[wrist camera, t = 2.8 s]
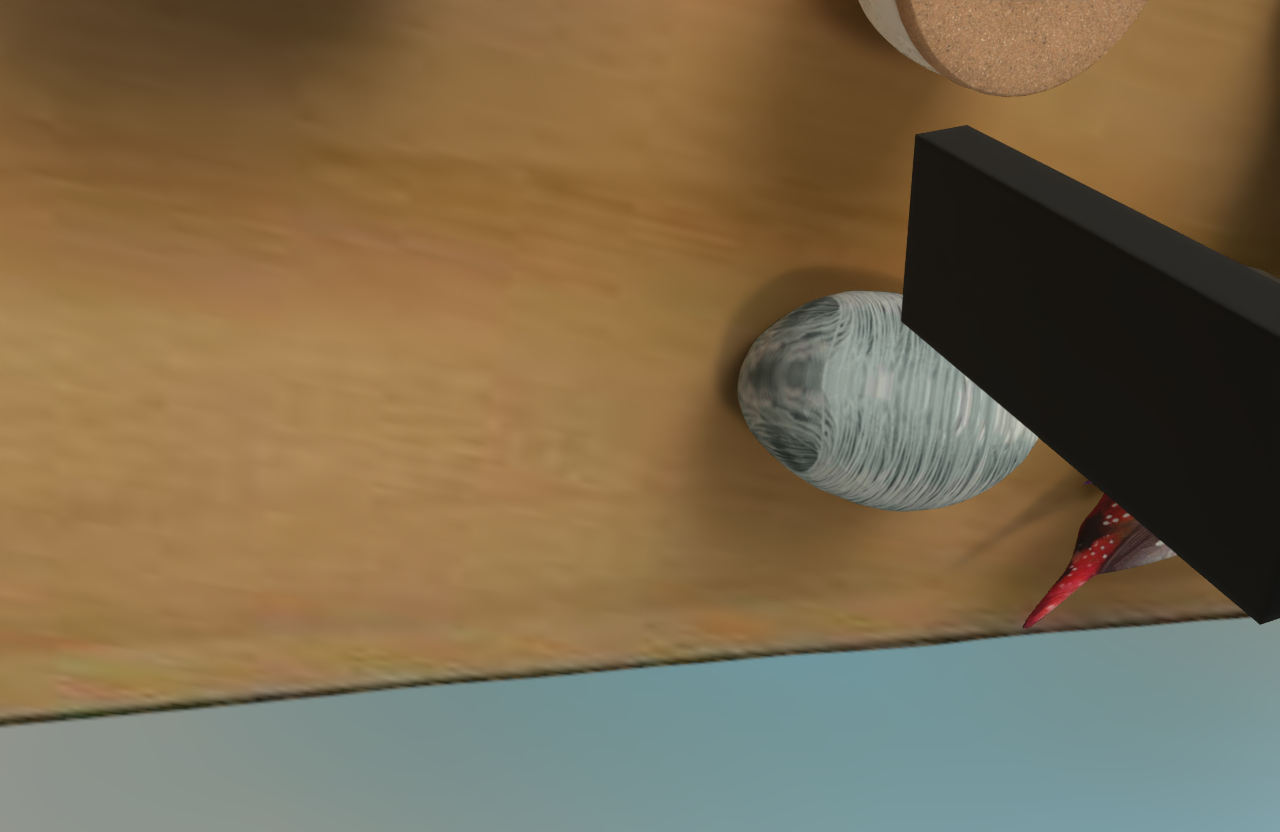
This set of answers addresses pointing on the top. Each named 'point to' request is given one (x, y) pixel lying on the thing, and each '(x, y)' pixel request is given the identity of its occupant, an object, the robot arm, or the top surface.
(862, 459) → the spool
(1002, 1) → the trinket box
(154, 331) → the top surface
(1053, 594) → the decorative bird figurine
